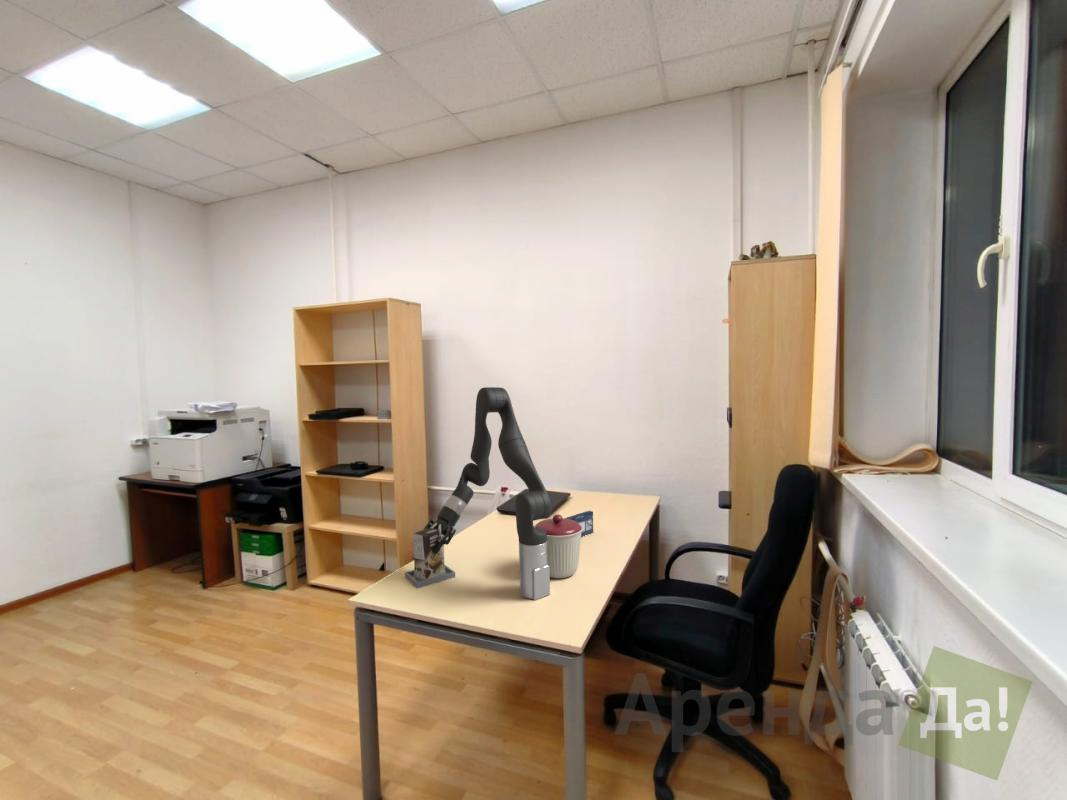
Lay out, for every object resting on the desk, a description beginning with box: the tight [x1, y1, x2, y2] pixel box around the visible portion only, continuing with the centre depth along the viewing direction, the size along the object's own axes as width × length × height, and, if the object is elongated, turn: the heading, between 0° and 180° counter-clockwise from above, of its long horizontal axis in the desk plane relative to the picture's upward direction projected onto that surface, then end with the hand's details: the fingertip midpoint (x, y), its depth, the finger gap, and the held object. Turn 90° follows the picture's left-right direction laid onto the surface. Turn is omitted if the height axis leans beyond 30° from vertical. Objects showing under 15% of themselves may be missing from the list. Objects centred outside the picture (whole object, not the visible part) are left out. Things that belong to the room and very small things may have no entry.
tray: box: [404, 564, 456, 589], centre depth 166 cm, size 11×14×2 cm
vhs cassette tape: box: [564, 510, 594, 538], centre depth 202 cm, size 18×3×10 cm, turn 129°
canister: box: [533, 514, 583, 579], centre depth 167 cm, size 18×18×21 cm
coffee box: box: [412, 527, 446, 581], centre depth 166 cm, size 9×6×16 cm
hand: (426, 549), depth 165 cm, fingers open, 8 cm apart
